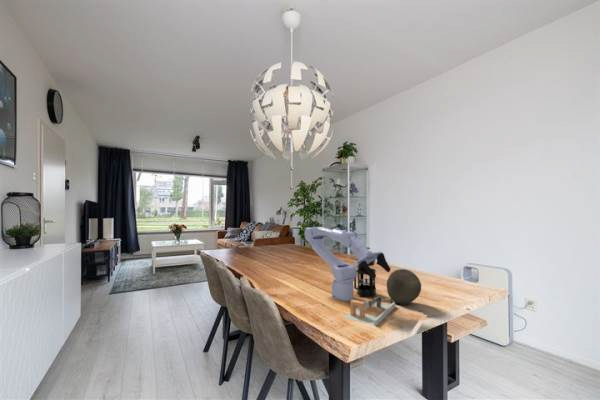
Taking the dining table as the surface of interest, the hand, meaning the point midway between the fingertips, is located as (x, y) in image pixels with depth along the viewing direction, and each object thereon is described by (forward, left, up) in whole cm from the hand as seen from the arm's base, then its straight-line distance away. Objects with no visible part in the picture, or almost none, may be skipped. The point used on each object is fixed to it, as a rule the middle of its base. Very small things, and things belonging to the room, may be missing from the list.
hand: (382, 273), depth 107 cm
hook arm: (-3, 0, -17) cm, 17 cm away
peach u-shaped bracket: (-7, -8, -15) cm, 19 cm away
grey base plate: (-4, -2, -17) cm, 17 cm away
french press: (-16, +21, -17) cm, 31 cm away
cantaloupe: (+3, +18, -17) cm, 25 cm away
